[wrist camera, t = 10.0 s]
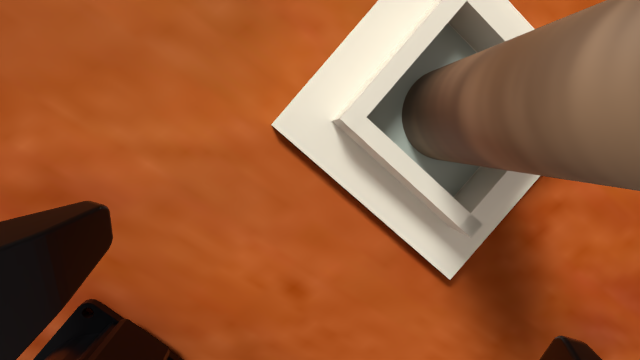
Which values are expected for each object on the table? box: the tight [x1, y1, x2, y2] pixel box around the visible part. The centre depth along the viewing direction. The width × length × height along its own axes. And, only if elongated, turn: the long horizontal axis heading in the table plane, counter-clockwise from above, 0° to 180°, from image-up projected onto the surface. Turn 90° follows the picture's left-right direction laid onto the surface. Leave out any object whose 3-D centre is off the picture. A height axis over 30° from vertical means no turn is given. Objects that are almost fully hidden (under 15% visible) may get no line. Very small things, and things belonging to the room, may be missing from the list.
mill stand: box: [272, 0, 540, 279], centre depth 18 cm, size 12×12×3 cm
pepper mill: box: [402, 0, 640, 191], centre depth 11 cm, size 4×4×16 cm
